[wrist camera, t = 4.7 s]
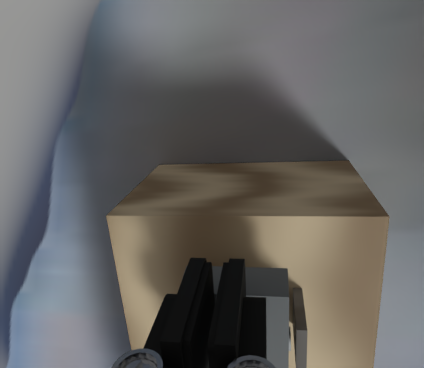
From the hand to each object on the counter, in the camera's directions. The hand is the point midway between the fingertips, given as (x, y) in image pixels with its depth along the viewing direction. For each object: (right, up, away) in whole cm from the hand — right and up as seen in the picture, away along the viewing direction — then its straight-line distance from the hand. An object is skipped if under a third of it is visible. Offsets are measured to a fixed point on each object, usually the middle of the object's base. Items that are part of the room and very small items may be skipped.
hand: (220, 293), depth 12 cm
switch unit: (+3, -7, +14) cm, 16 cm away
